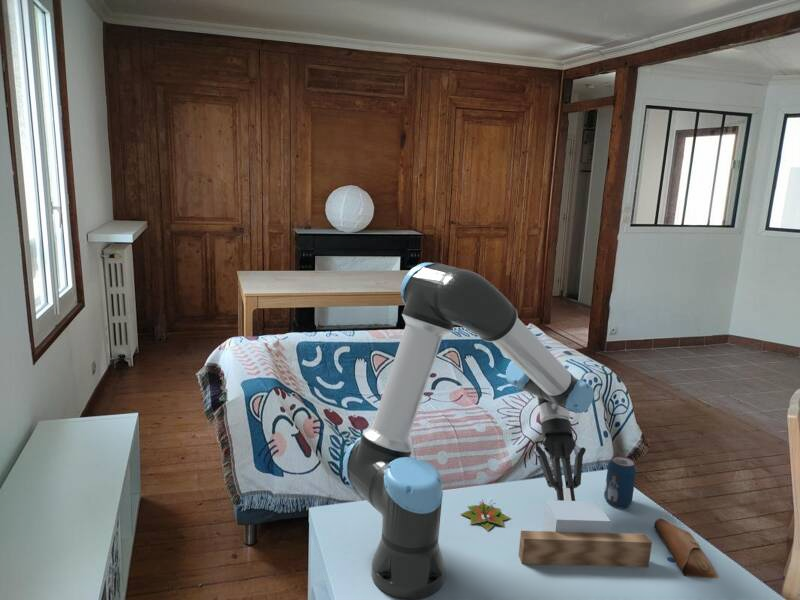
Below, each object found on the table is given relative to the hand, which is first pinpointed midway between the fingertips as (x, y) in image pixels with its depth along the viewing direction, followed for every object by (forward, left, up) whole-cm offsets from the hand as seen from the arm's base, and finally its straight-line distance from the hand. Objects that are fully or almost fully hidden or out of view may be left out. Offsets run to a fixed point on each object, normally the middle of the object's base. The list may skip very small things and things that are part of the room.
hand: (568, 517), depth 136 cm
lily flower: (-19, +6, -5) cm, 20 cm away
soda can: (+18, +14, -4) cm, 23 cm away
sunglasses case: (+25, -6, -5) cm, 27 cm away
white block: (0, -5, -4) cm, 7 cm away
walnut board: (0, -11, -4) cm, 11 cm away
